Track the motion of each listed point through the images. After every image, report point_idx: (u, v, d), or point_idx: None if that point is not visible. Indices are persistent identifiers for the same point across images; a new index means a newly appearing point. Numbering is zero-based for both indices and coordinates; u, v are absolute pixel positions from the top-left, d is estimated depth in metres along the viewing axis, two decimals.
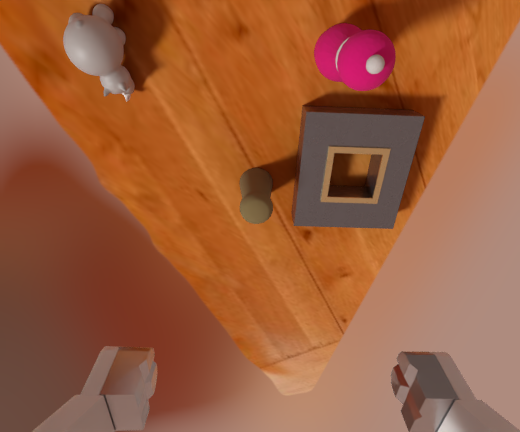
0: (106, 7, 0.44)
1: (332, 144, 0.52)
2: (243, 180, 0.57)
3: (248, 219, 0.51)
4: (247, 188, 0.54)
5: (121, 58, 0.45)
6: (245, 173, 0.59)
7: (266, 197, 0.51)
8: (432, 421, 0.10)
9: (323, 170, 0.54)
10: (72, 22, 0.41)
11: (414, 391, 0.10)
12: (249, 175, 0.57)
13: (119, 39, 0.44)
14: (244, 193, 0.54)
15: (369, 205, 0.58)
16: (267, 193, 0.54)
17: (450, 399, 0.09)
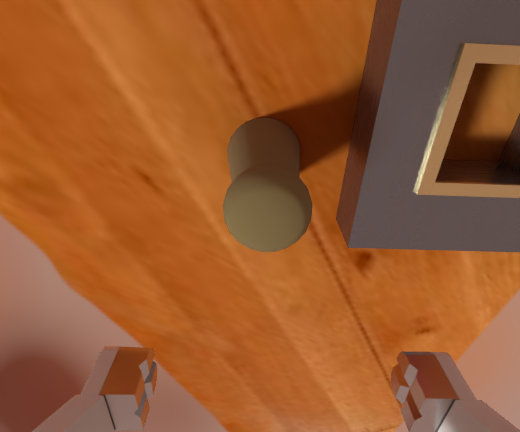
0: None
1: (473, 38, 0.19)
2: (235, 144, 0.25)
3: (247, 241, 0.19)
4: (243, 159, 0.22)
5: None
6: (239, 130, 0.26)
7: (296, 180, 0.18)
8: (432, 421, 0.10)
9: (437, 114, 0.21)
10: None
11: (414, 391, 0.10)
12: (249, 132, 0.24)
13: None
14: (236, 172, 0.21)
15: None
16: (294, 172, 0.21)
17: (450, 399, 0.09)
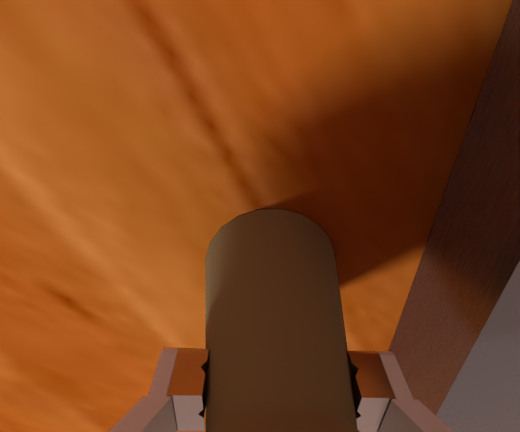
0: None
1: None
2: (217, 270, 0.13)
3: None
4: (228, 339, 0.10)
5: None
6: (225, 232, 0.14)
7: None
8: (372, 420, 0.10)
9: None
10: None
11: (354, 390, 0.10)
12: (243, 249, 0.12)
13: None
14: (213, 373, 0.10)
15: None
16: (345, 377, 0.09)
17: (386, 398, 0.09)
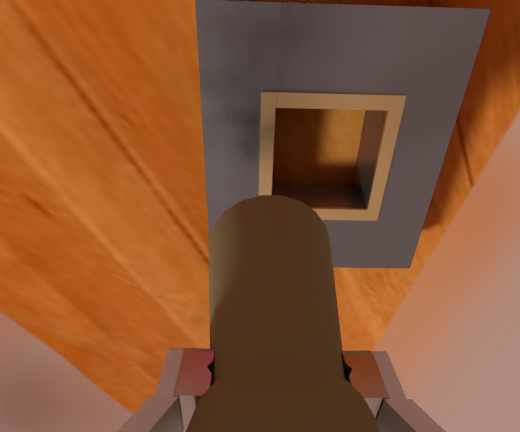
0: None
1: (269, 87, 0.22)
2: (220, 249, 0.14)
3: None
4: (231, 306, 0.11)
5: None
6: (228, 215, 0.15)
7: None
8: None
9: (257, 150, 0.24)
10: None
11: None
12: (245, 229, 0.13)
13: None
14: (217, 336, 0.11)
15: (361, 224, 0.28)
16: (336, 340, 0.10)
17: (379, 398, 0.09)
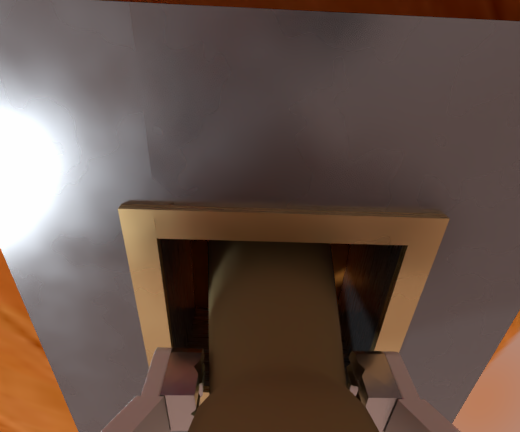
0: None
1: (138, 196, 0.10)
2: (220, 252, 0.14)
3: None
4: (231, 311, 0.11)
5: None
6: None
7: None
8: (378, 421, 0.10)
9: (135, 305, 0.12)
10: None
11: (360, 390, 0.10)
12: None
13: None
14: (216, 342, 0.10)
15: None
16: (337, 347, 0.10)
17: (393, 398, 0.09)
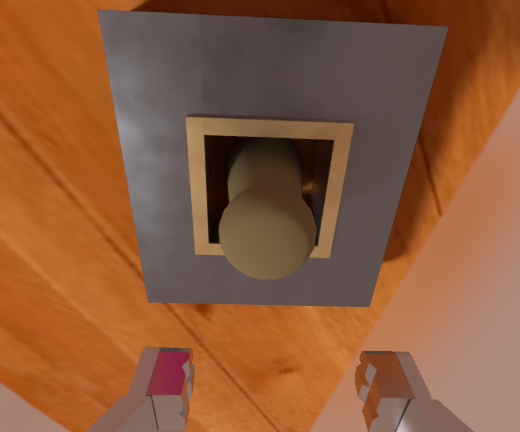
0: None
1: (195, 111, 0.19)
2: (234, 158, 0.23)
3: (244, 268, 0.17)
4: (242, 176, 0.20)
5: None
6: (238, 142, 0.24)
7: (300, 203, 0.17)
8: (390, 421, 0.10)
9: (188, 180, 0.21)
10: None
11: (372, 390, 0.10)
12: (249, 145, 0.23)
13: None
14: (234, 190, 0.20)
15: (312, 260, 0.25)
16: (297, 192, 0.20)
17: (406, 398, 0.09)
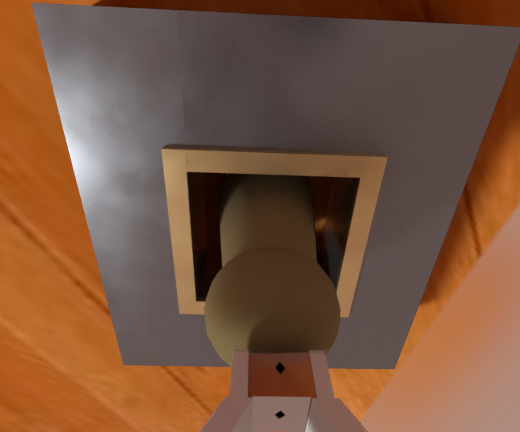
0: None
1: (175, 141, 0.14)
2: (228, 194, 0.18)
3: None
4: (237, 224, 0.15)
5: None
6: None
7: (320, 279, 0.12)
8: (297, 420, 0.10)
9: (167, 227, 0.16)
10: None
11: None
12: (247, 179, 0.18)
13: None
14: (227, 244, 0.15)
15: None
16: (311, 247, 0.15)
17: (307, 397, 0.09)
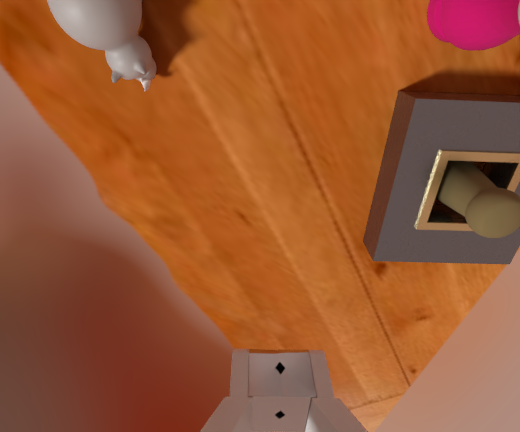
0: None
1: (446, 147, 0.35)
2: (444, 171, 0.39)
3: (487, 231, 0.33)
4: (466, 182, 0.36)
5: (139, 20, 0.28)
6: None
7: None
8: (297, 420, 0.10)
9: (427, 185, 0.37)
10: None
11: None
12: (455, 164, 0.39)
13: None
14: (463, 190, 0.36)
15: None
16: None
17: (307, 397, 0.09)
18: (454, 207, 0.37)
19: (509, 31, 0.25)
